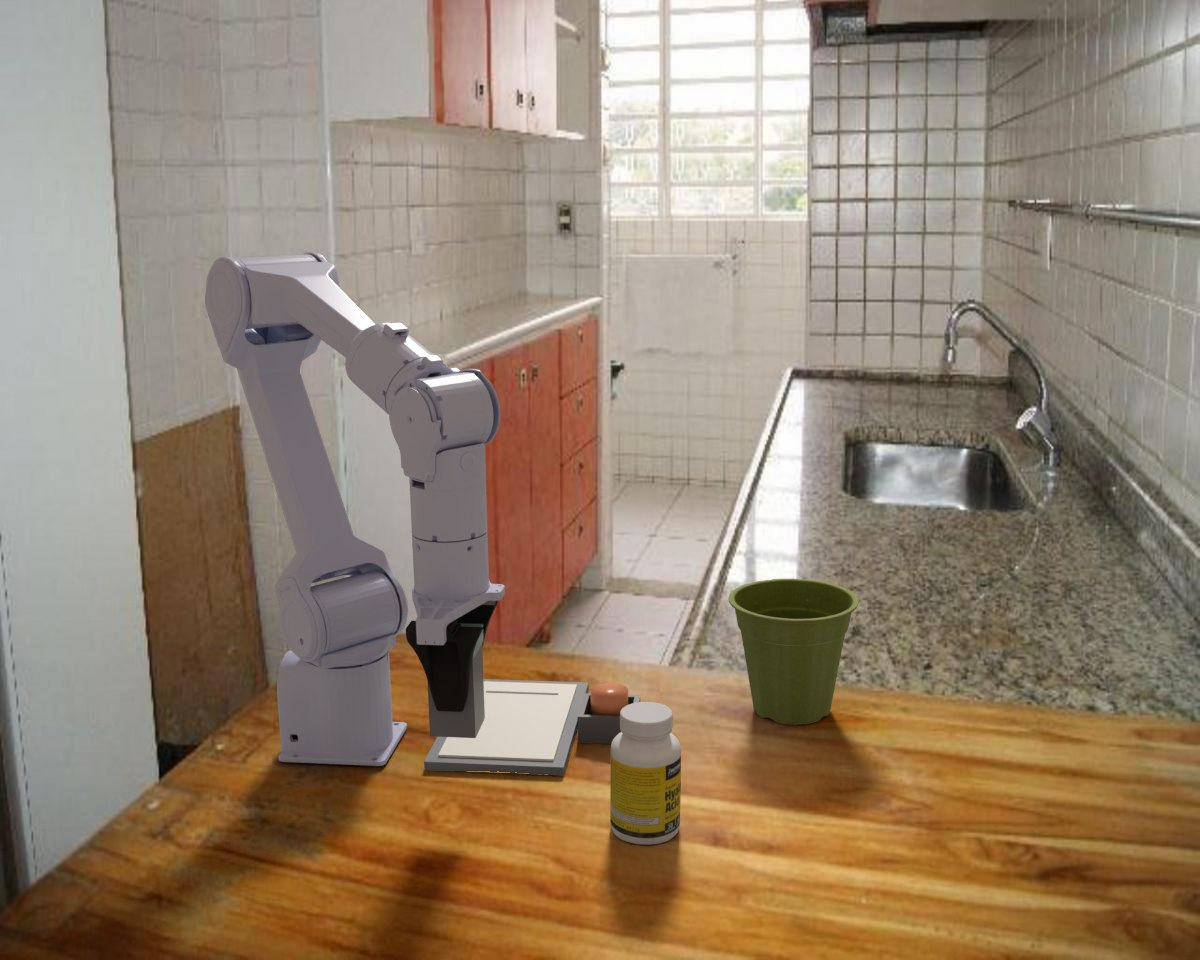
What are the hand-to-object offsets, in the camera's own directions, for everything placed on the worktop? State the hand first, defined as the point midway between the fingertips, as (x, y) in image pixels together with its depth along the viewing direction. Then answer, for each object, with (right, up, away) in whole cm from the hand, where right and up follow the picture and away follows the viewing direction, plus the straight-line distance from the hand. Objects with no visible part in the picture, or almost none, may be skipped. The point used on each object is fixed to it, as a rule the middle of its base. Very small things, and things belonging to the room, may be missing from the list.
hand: (456, 698), depth 96 cm
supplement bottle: (+15, -10, -1) cm, 18 cm away
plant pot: (+29, -5, +20) cm, 36 cm away
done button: (+12, -4, +15) cm, 20 cm away
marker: (0, -2, +1) cm, 2 cm away
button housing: (+12, -6, +16) cm, 21 cm away
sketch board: (+3, -6, +17) cm, 18 cm away
